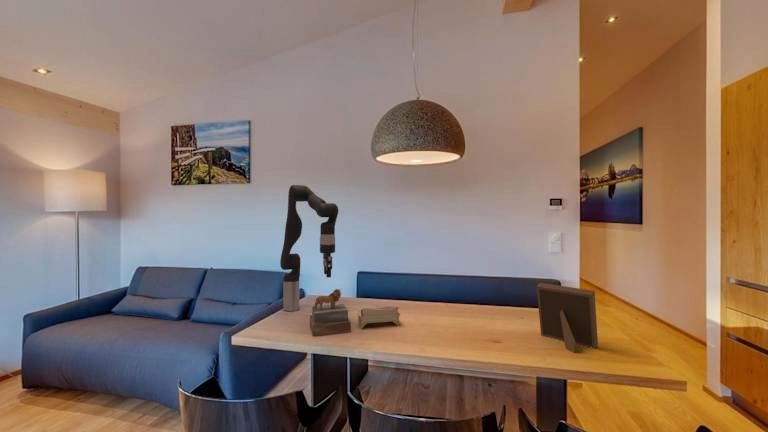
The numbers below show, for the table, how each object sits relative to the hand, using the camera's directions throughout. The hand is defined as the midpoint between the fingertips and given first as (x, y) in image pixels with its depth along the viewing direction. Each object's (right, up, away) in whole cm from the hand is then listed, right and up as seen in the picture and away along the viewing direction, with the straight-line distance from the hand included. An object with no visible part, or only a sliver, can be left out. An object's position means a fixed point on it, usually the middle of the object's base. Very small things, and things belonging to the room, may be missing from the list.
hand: (327, 275), depth 162 cm
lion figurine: (0, -17, 0) cm, 17 cm away
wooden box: (+1, -26, -1) cm, 26 cm away
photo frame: (+107, -27, -20) cm, 112 cm away
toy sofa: (+25, -27, +5) cm, 37 cm away
